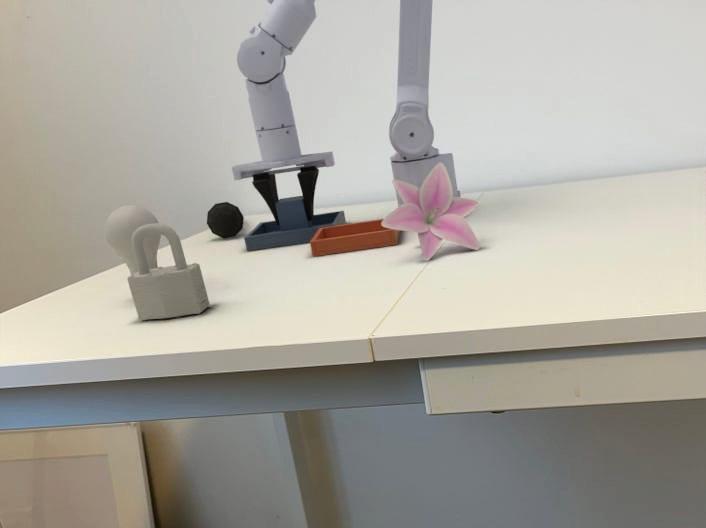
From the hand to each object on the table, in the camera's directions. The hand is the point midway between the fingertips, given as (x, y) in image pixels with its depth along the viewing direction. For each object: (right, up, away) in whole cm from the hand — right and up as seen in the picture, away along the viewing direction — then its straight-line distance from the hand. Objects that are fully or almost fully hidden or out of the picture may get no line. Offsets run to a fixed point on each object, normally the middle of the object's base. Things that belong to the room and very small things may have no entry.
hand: (295, 221), depth 120 cm
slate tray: (0, -2, +1) cm, 2 cm away
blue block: (0, -2, +1) cm, 2 cm away
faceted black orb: (-13, +1, +15) cm, 20 cm away
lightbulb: (-13, -13, -22) cm, 29 cm away
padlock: (-6, -16, -32) cm, 36 cm away
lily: (+22, -7, -21) cm, 31 cm away
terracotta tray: (+11, -5, -10) cm, 15 cm away
